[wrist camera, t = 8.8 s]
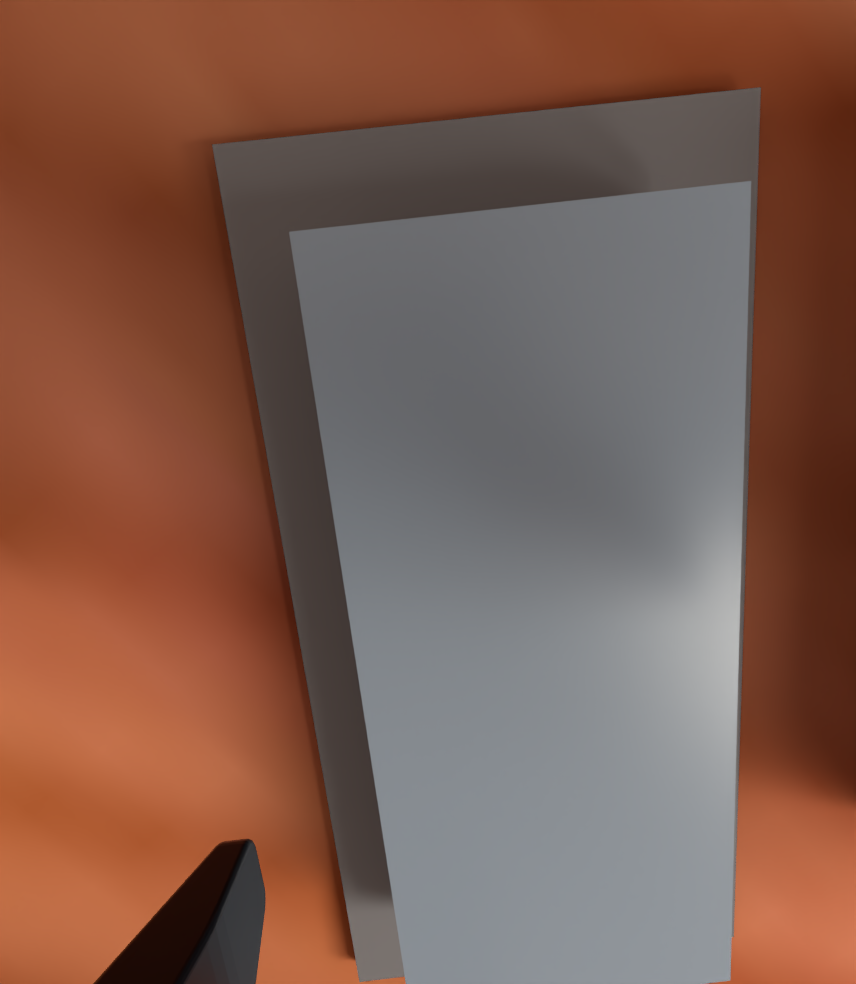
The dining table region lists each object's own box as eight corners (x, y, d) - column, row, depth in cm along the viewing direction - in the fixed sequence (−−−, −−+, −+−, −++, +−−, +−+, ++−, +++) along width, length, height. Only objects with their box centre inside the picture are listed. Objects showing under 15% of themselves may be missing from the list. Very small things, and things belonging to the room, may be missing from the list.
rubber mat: (745, 97, 12) (760, 87, 11) (724, 919, 17) (733, 936, 16) (219, 152, 12) (211, 144, 11) (360, 962, 17) (359, 981, 16)
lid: (679, 210, 12) (750, 180, 9) (680, 881, 16) (730, 980, 14) (311, 251, 12) (288, 231, 9) (410, 914, 16) (411, 1020, 13)
